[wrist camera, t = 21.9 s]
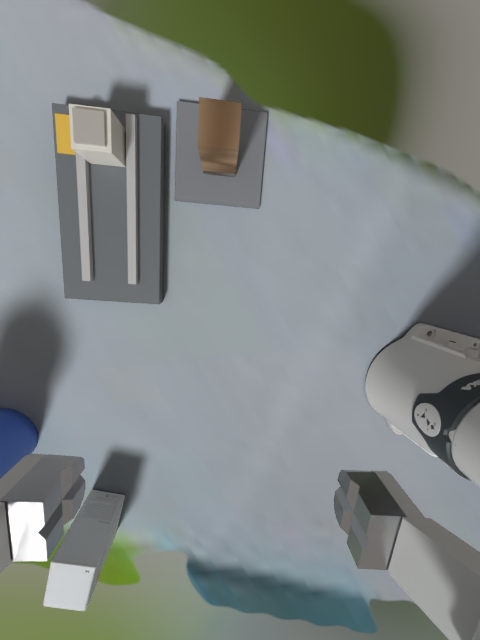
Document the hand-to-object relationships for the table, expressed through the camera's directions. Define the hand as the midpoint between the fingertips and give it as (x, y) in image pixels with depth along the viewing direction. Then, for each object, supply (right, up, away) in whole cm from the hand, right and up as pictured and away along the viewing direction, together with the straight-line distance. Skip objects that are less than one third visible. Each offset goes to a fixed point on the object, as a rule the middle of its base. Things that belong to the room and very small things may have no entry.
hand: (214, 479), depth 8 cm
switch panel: (-15, +19, +25) cm, 35 cm away
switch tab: (-15, +25, +22) cm, 36 cm away
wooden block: (-2, +25, +24) cm, 35 cm away
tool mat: (-2, +26, +24) cm, 36 cm away
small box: (-22, -27, +35) cm, 49 cm away
